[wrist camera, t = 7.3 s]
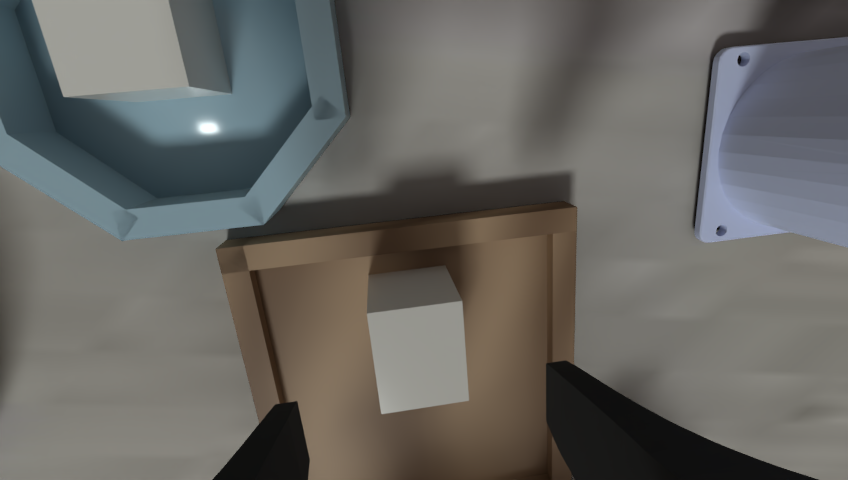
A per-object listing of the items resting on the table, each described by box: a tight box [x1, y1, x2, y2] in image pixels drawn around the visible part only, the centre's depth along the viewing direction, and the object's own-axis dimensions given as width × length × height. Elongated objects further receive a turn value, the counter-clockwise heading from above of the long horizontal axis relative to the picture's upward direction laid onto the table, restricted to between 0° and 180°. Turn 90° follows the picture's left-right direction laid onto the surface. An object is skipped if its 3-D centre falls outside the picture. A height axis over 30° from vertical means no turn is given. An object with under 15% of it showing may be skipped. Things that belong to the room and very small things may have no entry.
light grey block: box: [32, 0, 232, 102], centre depth 12 cm, size 3×4×4 cm
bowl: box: [0, 0, 350, 241], centre depth 13 cm, size 11×11×2 cm
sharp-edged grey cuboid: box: [367, 265, 469, 414], centre depth 16 cm, size 3×4×4 cm
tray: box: [216, 201, 577, 480], centre depth 19 cm, size 14×15×1 cm
